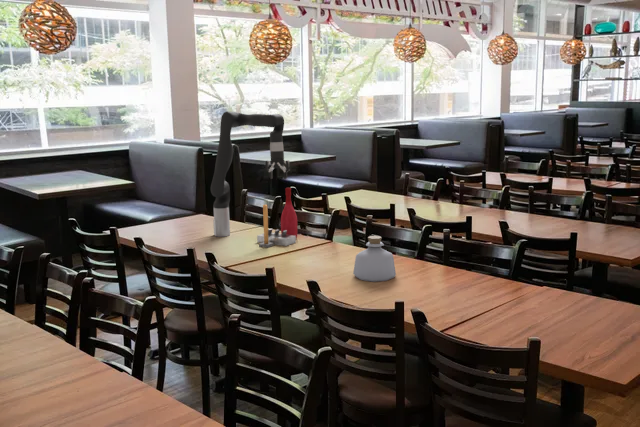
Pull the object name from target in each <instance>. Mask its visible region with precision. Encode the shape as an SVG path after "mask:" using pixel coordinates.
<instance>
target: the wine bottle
mask: <svg viewBox="0 0 640 427" xmlns="http://www.w3.org/2000/svg"><path fill="white" fill-rule="evenodd" d="M284 189H285V190H284V191H285V204H284V208H283V210H282V212H281V216H280V234H282V232H283V231H284V230H287V233H286V234H288V235H296V238H297V237H298V216H297V213H296V211H295V208H294V206H293V203H292V198H291V196H292V188H291V187H286V188H284Z"/></svg>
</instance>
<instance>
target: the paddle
mask: <svg viewBox="0 0 640 427" xmlns="http://www.w3.org/2000/svg"><path fill="white" fill-rule="evenodd" d="M273 230H274V229H273V228H268V235H269V234H271V233H273Z"/></svg>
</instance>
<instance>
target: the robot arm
mask: <svg viewBox="0 0 640 427" xmlns="http://www.w3.org/2000/svg"><path fill="white" fill-rule="evenodd" d="M243 126H251V127H258V128H259V127H261V128H262V127H264V128H265V127H266V128H273V131H271V132H270V133H269V143H270V144H269V153H270V160H268V159H267V160H266V161H265V172H268V177H269V178H270V180H272V179H273V177H274V175H273V174H274V173H273V170H274V169H281V170H282V171H283V179H284V180H286V179H287V178H288V172H289V171H291V165H290V160H288V159H287V160H285V155H284V153H285V152H284V151H285V150H284V142H283V141H284V140H283V132H284V127H285V118H284V116H283V115H282V114H280V113H277V114H275V113H274V114H273V113H272V114H266V113H253V114H245V113H241V112H237V111H225V112H223V113H222V115H221V118H220V130H219V140H218V146H217V153H216V160H215V164H214V166H215V167H214V171H213V172H214V173H213V177H212V181H211V184H210V193H211V195H212V196H213V197H215V200H214V201H213V206H212V207H213V220H212V222H213V235H214V236H215V237H222V238H223V237H228V236H230V235H231V226H230V225H231V224H230V201H231V190H230V189H231V188H230V184H229V182H227V181H226V176H227V173H228V171H229V169H230V166H231V164H232V162H233V157H234V147H233V146H234V145H233V143H232V138H231V132H232V128H237V127H243ZM270 165H271V166H270ZM285 165H286V166H285Z"/></svg>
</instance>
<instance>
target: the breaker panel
mask: <svg viewBox="0 0 640 427" xmlns="http://www.w3.org/2000/svg"><path fill="white" fill-rule="evenodd" d="M274 234H275V232H272V233H271V234H269V235H268V242H271V243H274V246H275V245H276V246H283V247H287V246H290V245H292V244H293V245H294V244H295V243H296V242H297V237H296V235H288V234H286V235H285V236H281V235H282V234H281V233H279V234H278V235H274ZM256 239H257V240H256V243H259V244H260V243H263V242H264V232H263V233H260V234H257V235H256Z"/></svg>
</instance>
